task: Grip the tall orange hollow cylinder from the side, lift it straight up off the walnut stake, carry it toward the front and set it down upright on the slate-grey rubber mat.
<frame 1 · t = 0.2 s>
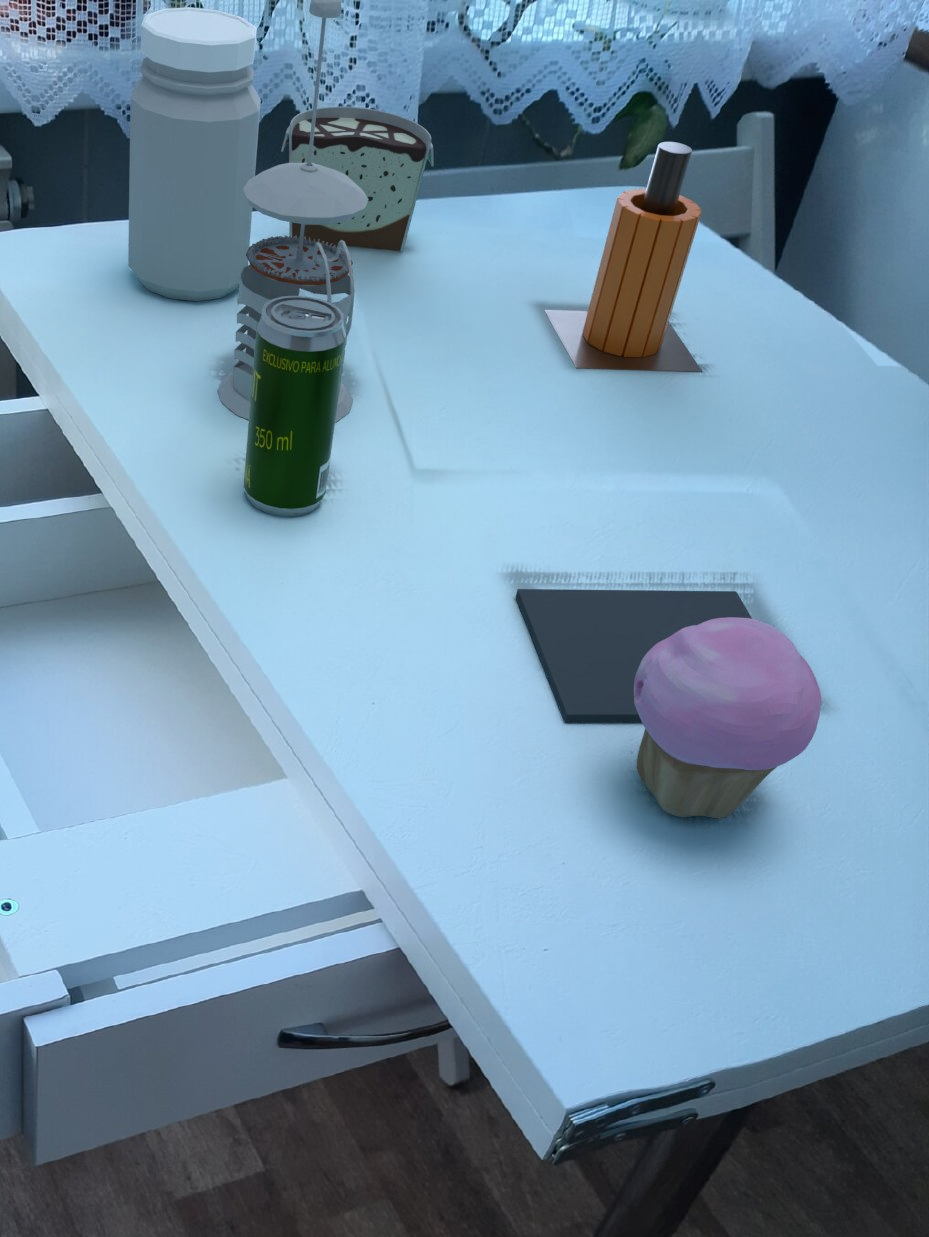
food container: (343, 248, 119), on the table
french press: (290, 404, 99), on the table
cupcake: (683, 798, 73), on the table
jar: (187, 282, 112), on the table
orange hollow cylinder: (621, 340, 108), point 1 cm above the table, touching stake
mat: (654, 657, 81), on the table
beer can: (283, 499, 90), on the table
stake: (617, 355, 109), on the table
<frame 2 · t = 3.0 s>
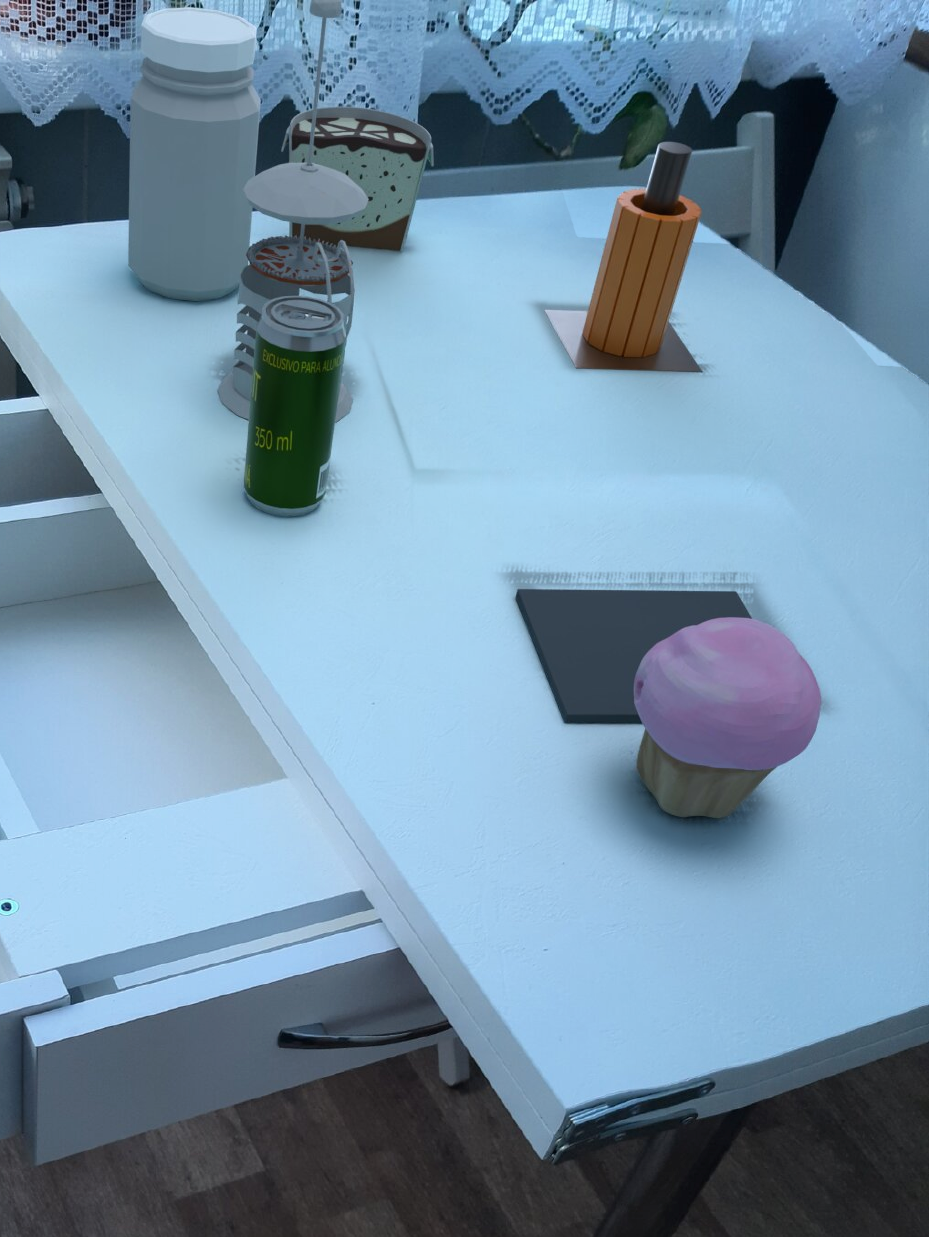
nothing on the table moved.
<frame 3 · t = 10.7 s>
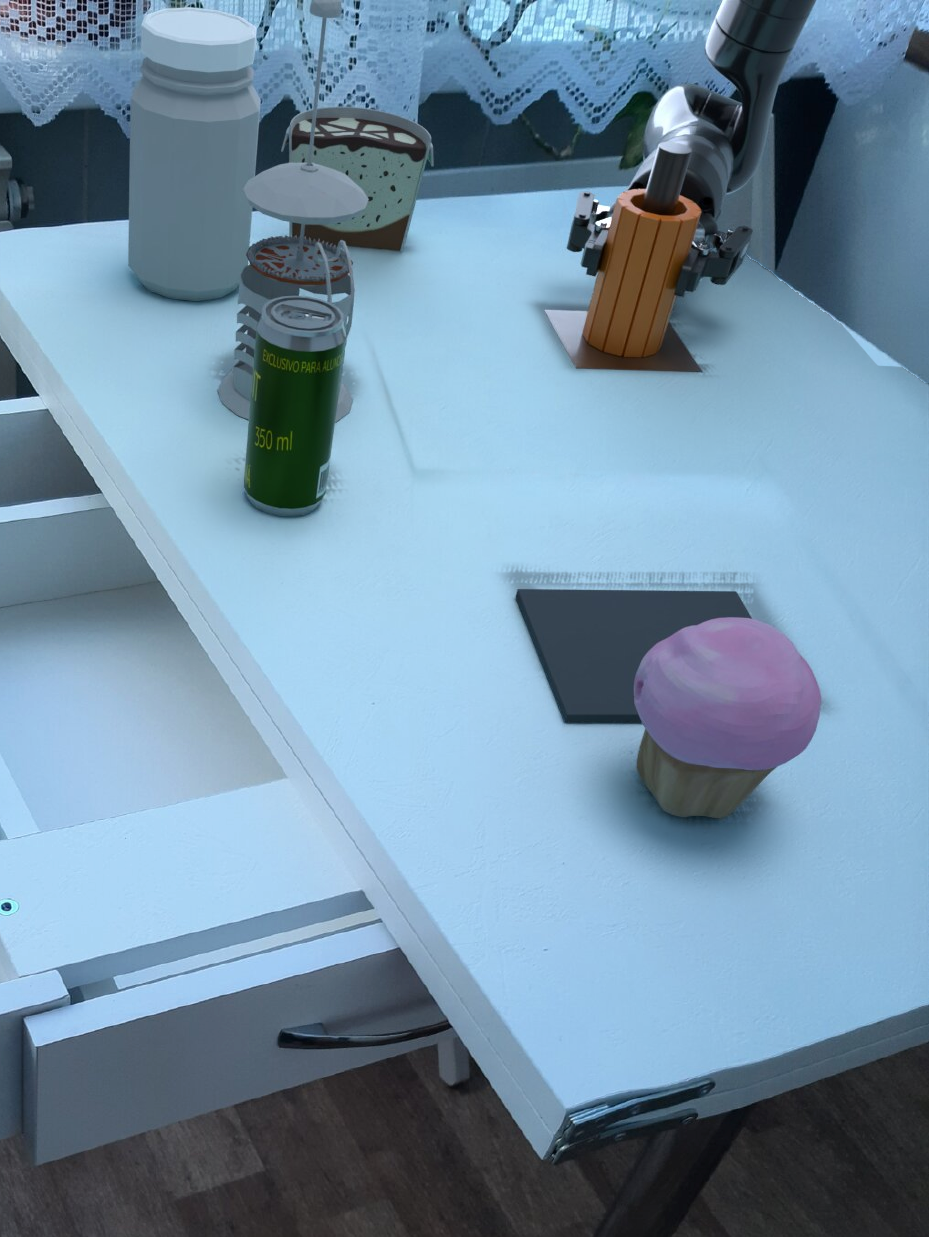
hand: (638, 272, 102), 7 cm above the table, tool horizontal, fingers closed on orange hollow cylinder, 6 cm apart
orange hollow cylinder: (621, 340, 108), point 1 cm above the table, touching gripper, stake
everything else where it was.
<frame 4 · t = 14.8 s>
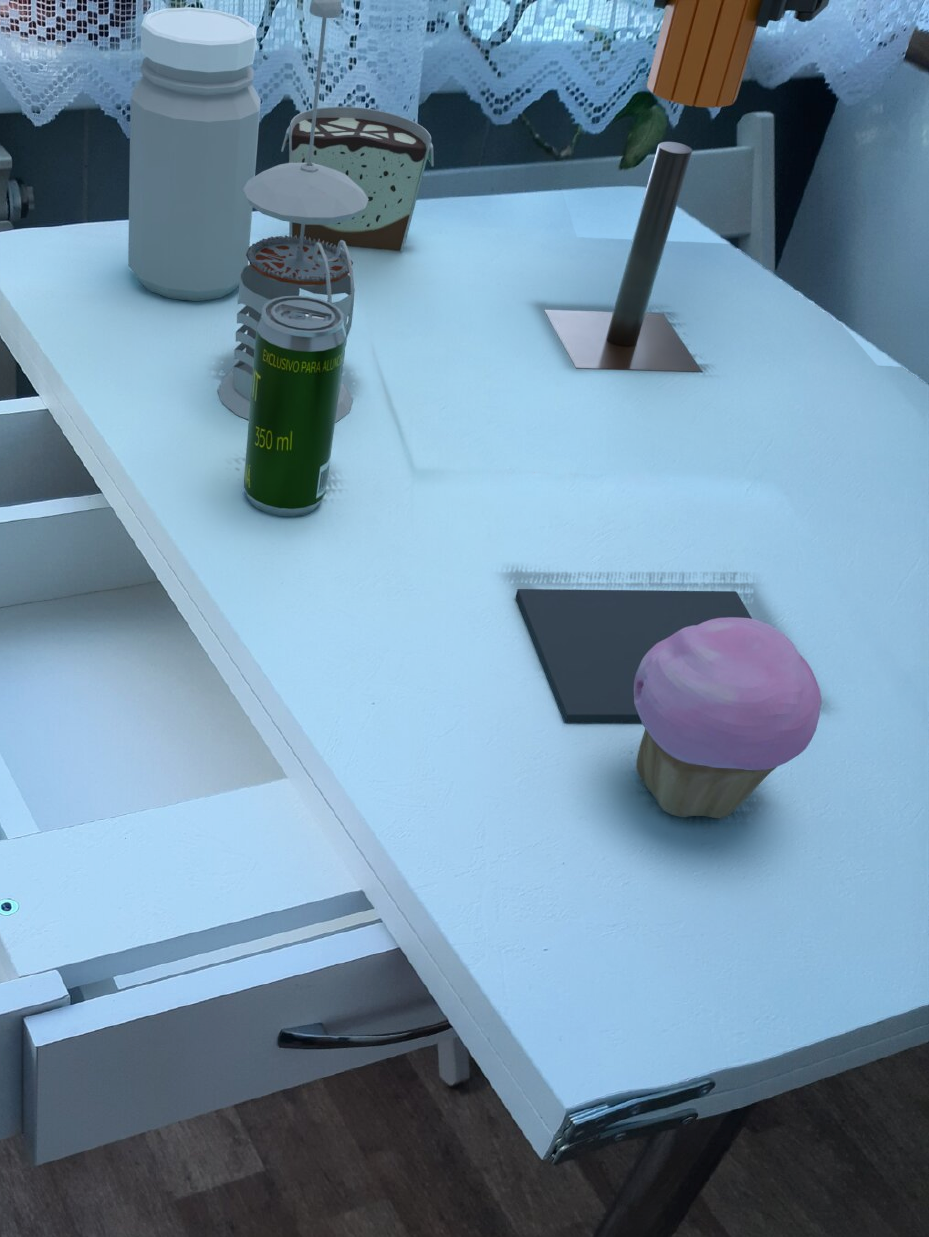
orange hollow cylinder: (691, 93, 95), point 18 cm above the table, touching gripper
everything else where it was.
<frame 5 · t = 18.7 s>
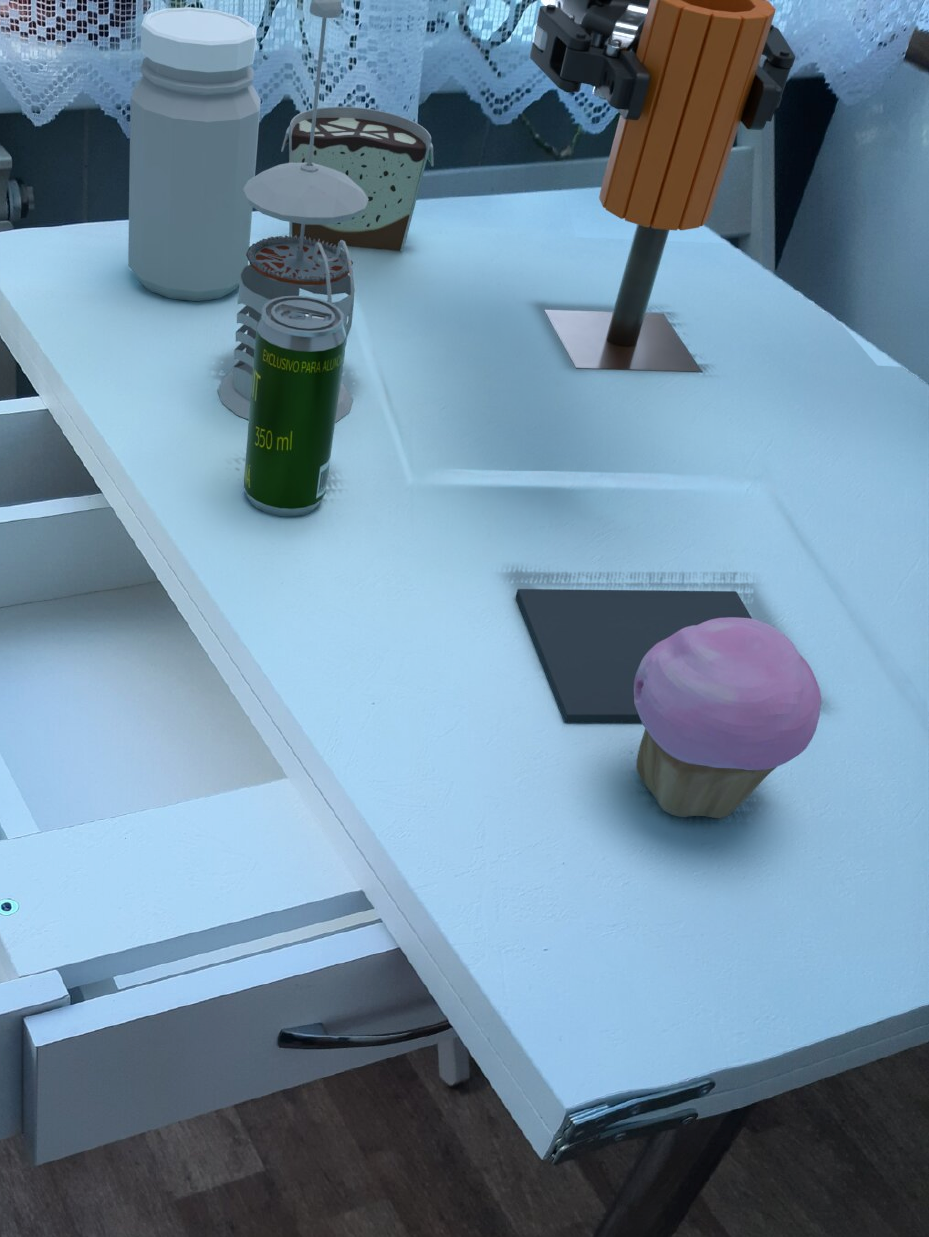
hand: (701, 104, 71), 26 cm above the table, tool horizontal, fingers closed on orange hollow cylinder, 6 cm apart
orange hollow cylinder: (653, 208, 77), point 20 cm above the table, touching gripper
everything else where it was.
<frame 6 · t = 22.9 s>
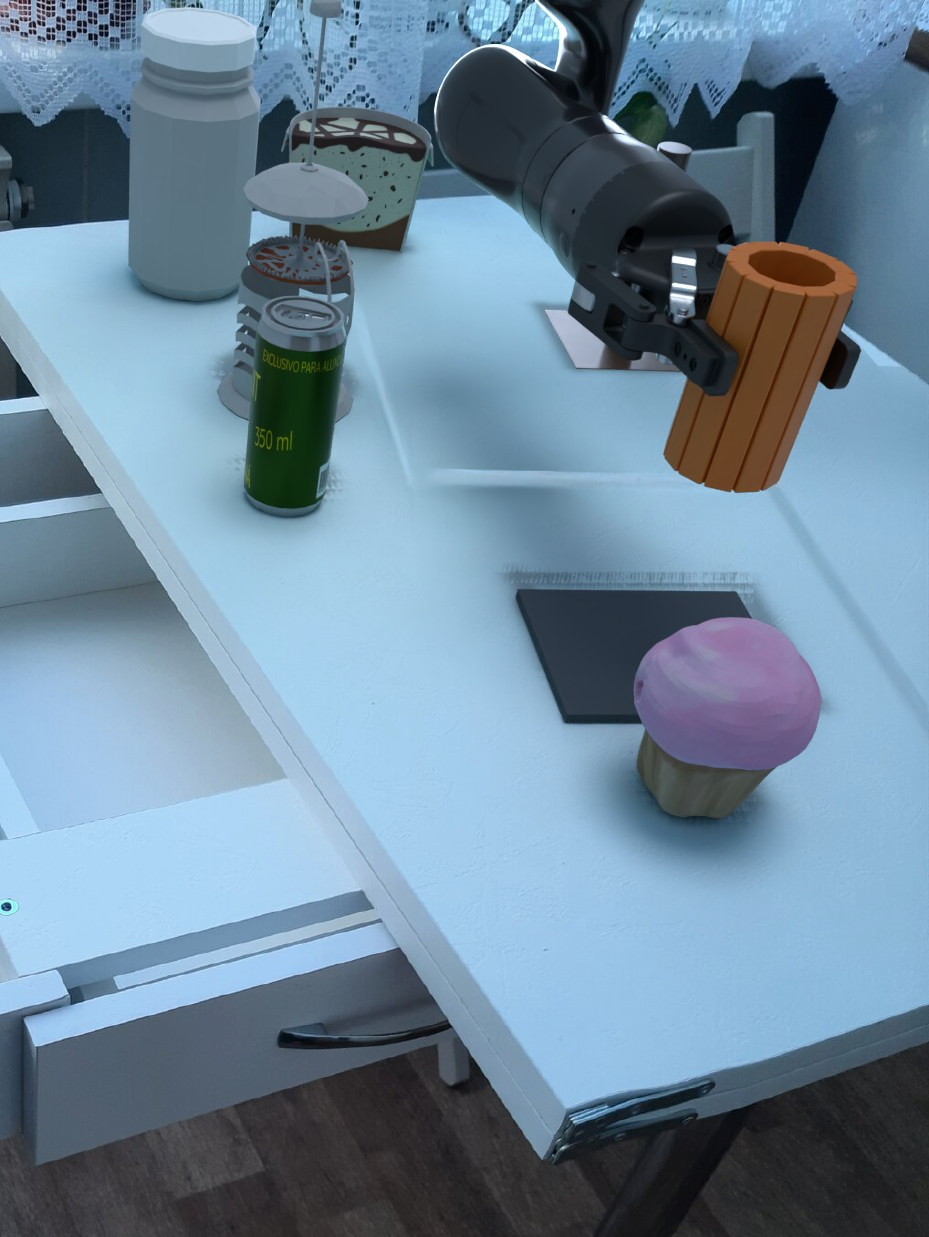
hand: (787, 374, 66), 18 cm above the table, tool horizontal, fingers closed on orange hollow cylinder, 6 cm apart
orange hollow cylinder: (721, 462, 72), point 12 cm above the table, touching gripper
everything else where it was.
when the fingers open (7 cm above the table, at t = 26.6 s): orange hollow cylinder stays where it is, resting on mat.
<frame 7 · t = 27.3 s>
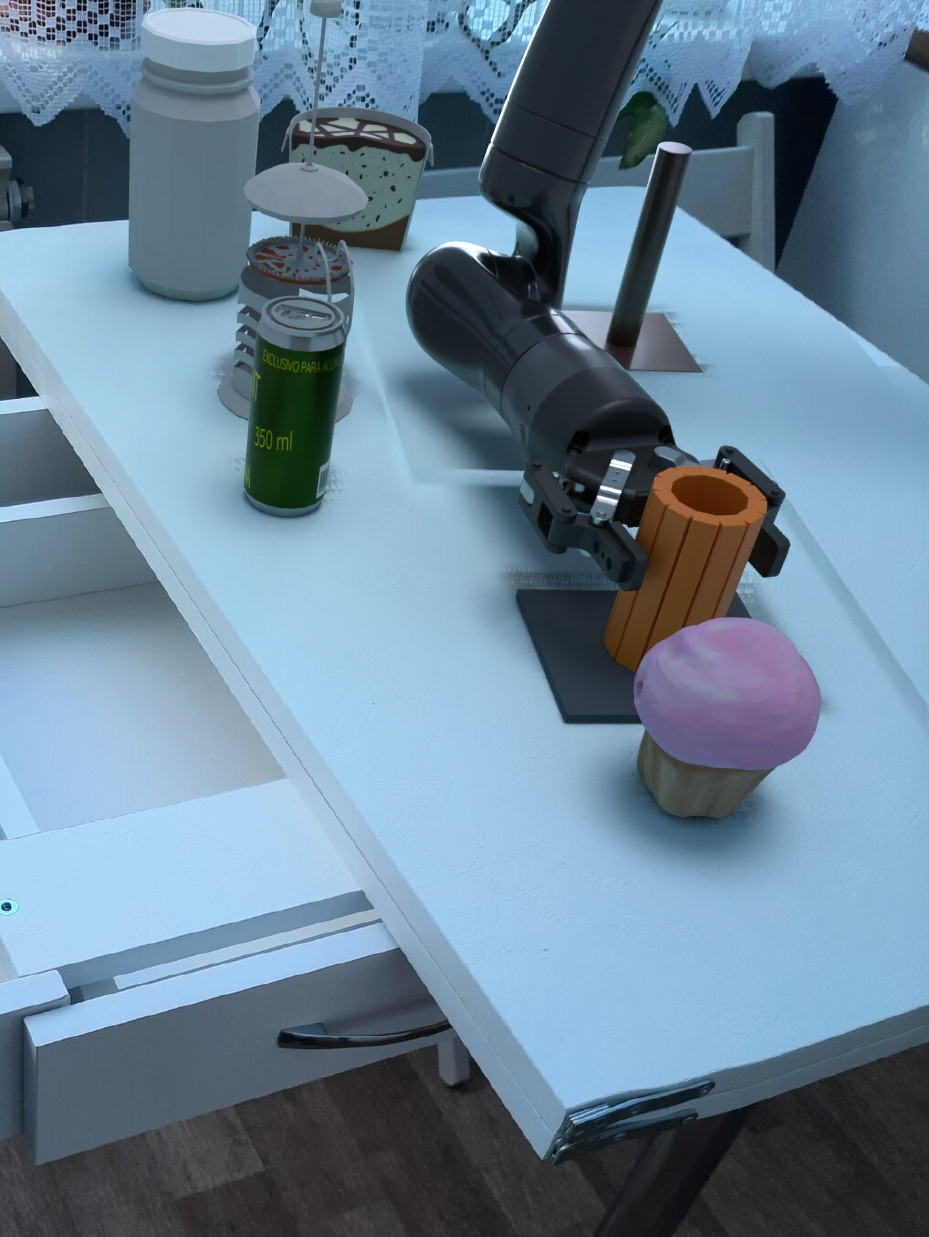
hand: (709, 570, 75), 7 cm above the table, tool horizontal, fingers open, 8 cm apart
orange hollow cylinder: (655, 648, 81), point 1 cm above the table, touching mat
everything else where it was.
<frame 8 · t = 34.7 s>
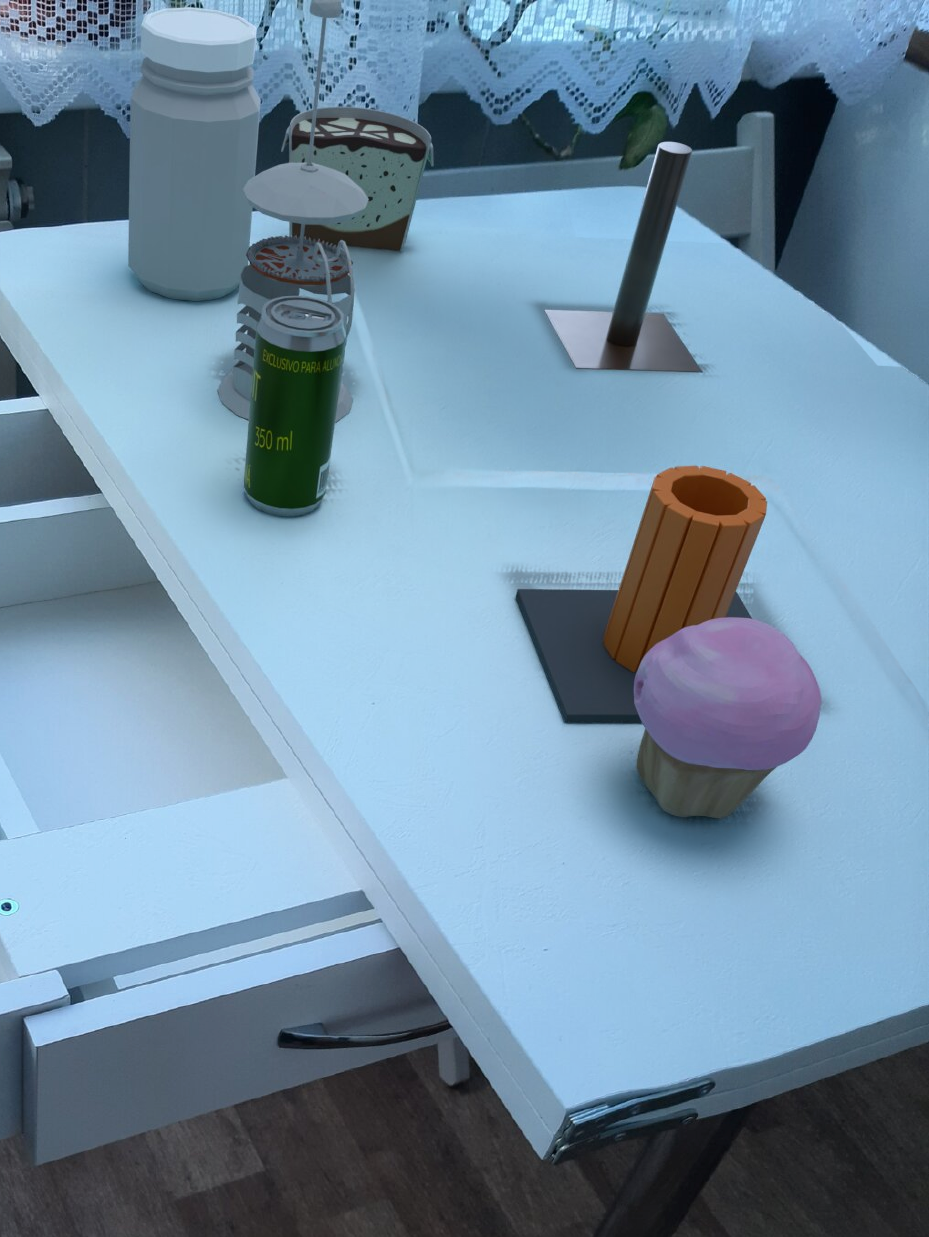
nothing on the table moved.
at the end: orange hollow cylinder inside the target area on the mat (0.1 cm from its centre), point 0.6 cm above the mat's base; orange hollow cylinder tilted 0°; the gripper is holding nothing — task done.
